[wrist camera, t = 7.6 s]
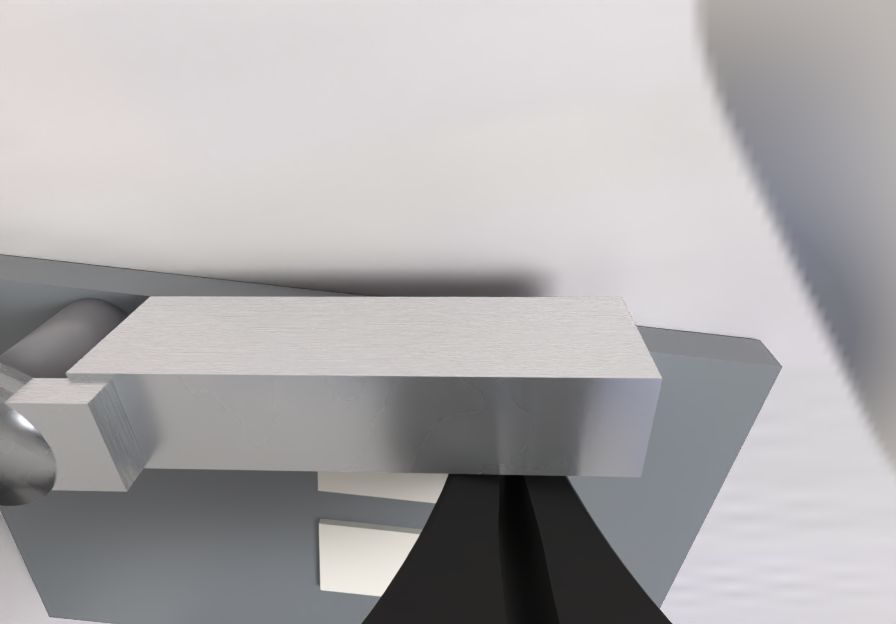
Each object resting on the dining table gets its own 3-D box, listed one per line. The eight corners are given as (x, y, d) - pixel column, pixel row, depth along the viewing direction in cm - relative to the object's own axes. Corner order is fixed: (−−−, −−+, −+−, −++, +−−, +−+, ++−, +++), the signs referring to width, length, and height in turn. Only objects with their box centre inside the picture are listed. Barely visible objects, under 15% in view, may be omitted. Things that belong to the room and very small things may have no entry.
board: (759, 340, 12) (858, 456, 9) (617, 644, 18) (647, 775, 15) (-67, 247, 12) (-259, 334, 9) (70, 586, 18) (-15, 708, 15)
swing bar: (5, 282, 10) (-158, 379, 8) (624, 282, 10) (679, 387, 7) (56, 389, 12) (-69, 504, 9) (606, 395, 11) (648, 519, 8)
